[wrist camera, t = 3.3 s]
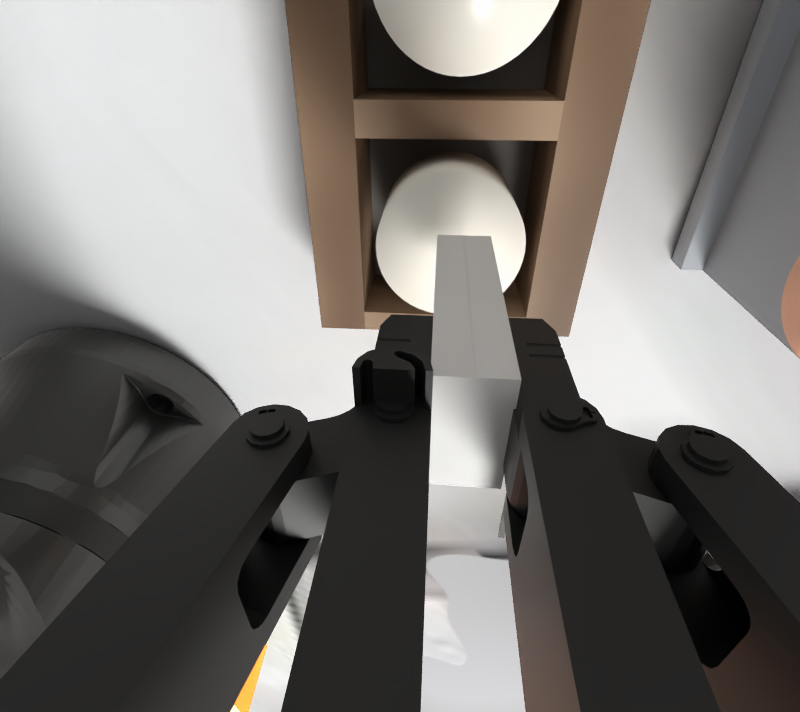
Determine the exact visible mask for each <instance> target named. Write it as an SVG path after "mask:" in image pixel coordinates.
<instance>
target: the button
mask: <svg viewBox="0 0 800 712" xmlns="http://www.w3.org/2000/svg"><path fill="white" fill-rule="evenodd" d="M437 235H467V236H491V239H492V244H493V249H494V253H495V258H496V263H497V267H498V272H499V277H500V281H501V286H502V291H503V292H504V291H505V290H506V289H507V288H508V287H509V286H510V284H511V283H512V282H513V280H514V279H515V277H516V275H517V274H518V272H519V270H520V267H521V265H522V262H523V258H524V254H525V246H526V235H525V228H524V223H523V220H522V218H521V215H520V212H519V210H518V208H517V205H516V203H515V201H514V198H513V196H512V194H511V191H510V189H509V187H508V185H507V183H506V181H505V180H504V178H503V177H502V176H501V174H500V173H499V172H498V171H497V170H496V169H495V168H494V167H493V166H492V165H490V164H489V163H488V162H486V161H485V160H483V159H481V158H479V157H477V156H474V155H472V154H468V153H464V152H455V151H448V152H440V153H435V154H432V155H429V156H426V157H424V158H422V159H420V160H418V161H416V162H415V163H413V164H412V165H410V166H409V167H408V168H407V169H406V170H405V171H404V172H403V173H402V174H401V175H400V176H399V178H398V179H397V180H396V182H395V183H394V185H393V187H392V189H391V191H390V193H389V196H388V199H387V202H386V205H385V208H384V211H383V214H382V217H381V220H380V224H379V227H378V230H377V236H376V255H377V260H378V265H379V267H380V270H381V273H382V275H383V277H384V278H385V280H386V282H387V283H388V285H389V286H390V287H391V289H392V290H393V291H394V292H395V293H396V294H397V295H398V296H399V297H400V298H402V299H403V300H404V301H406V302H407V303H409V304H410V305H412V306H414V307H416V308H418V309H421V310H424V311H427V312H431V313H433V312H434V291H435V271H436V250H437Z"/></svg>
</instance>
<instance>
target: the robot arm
mask: <svg viewBox="0 0 800 712" xmlns="http://www.w3.org/2000/svg"><path fill="white" fill-rule="evenodd" d="M352 373H353V386H354V400H355V407H354V408H352V409H351V410H349V411H347V412H345V413H343V414H341V415H338V416H335V417H331V418H327V419H321V420H316V421H310V422H308V420H307V418H306V417H305V416H304V415H303V413H302V412H301V411H300V410H297V409H295V408H293V407H290V406H286V405H268V406H262V407H258V408H256V409H253V410H251V411H249V412H246V413H244V414H243V415H242V416H239V414H238V412H237V411H236V409H235V408H234V406H233V405H232V404H231V402H230V401H229V400H228V398H227V397H226V396H225V395H224V394H223V393H222V392H221V390H220V389H219V388H218V387H217V386H216V385H215V384H213V383H212V382H211V381H210V380H209V379H208V378H207V377H206V376H204V375H203V374H202V373H201V372H199V371H198V370H197V369H195V368H194V367H193V366H191V365H190V364H188V363H187V362H185V361H184V360H182V359H180V358H179V357H177V356H175V355H173V354H172V353H170V352H168V351H166V350H164V349H162V348H160V347H158V346H155V345H153V344H151V343H148V342H146V341H143V340H140V339H138V338H135V337H131V336H128V335H125V334H121V333H117V332H112V331H107V330H100V329H92V328H64V329H57V330H52V331H48V332H44V333H41V334H38V335H36V336H34V337H32V338H30V339H28V340H26V341H25V342H23V343H22V344H21V345H19V346H18V347H17V348H15V349H14V350H13V351H11V352H10V353H9V354H7V355H6V356H5V357H3V358H2V359H1V360H0V712H230V711H231V710H232V708H233V706H234V704H235V702H236V700H237V698H238V696H239V694H240V692H241V690H242V689H243V687H244V685H245V683H246V681H247V679H248V677H249V675H250V673H251V671H252V670H253V668H254V666H255V664H256V662H257V660H258V658H259V656H260V654H261V652H262V651H263V649H264V647H265V645H266V643H267V641H268V639H269V637H270V635H271V633H272V631H273V630H274V628H275V626H276V624H277V622H278V620H279V618H280V616H281V614H282V612H283V611H284V609H285V607H286V605H287V603H288V601H289V599H290V597H291V595H292V593H293V591H294V590H295V588H296V586H297V584H298V582H299V580H300V578H301V576H302V574H303V572H304V571H305V569H306V567H307V565H308V563H309V561H310V559H311V557H312V555H313V553H314V552H315V550H316V548H317V546H318V544H319V542H320V540H321V537H322V535H324V536H323V540H322V544H321V548H320V552H319V557H318V561H317V565H316V569H315V573H314V577H313V581H312V586H311V590H310V594H309V598H308V602H307V606H306V610H305V615H304V619H303V623H302V627H301V631H300V635H299V639H298V643H297V648H296V652H295V656H294V660H293V664H292V668H291V672H290V677H289V681H288V685H287V689H286V693H285V697H284V701H283V706H282V710H281V712H420V709H421V682H422V656H423V629H424V601H425V574H426V547H427V520H428V493H429V484H437V485H452V486H467V487H483V488H498V489H501V486H502V481H503V476H505V483H506V491H507V492H506V497H505V503H504V508H503V513H502V518H501V523H500V528H499V536H498V537H503V538H504V536H505V533H506V542H507V550H508V559H509V568H510V577H511V585H512V595H513V603H514V612H515V621H516V630H517V639H518V647H519V656H520V665H521V674H522V683H523V692H524V701H525V709H526V712H800V503H799V502H798V501H797V500H796V499H795V498H794V497H793V496H792V495H791V494H790V493H789V492H787V491H786V490H785V489H784V488H783V487H782V486H781V485H780V484H779V483H778V482H777V481H776V480H775V479H774V478H773V477H772V476H771V475H770V474H769V473H768V472H767V471H766V470H765V469H764V468H763V467H762V466H761V465H760V464H759V463H758V462H756V461H755V460H754V459H753V458H752V457H751V456H750V455H749V454H748V453H747V452H746V451H745V450H744V449H743V448H741V447H740V446H739V445H737V444H736V443H735V442H733V441H732V440H731V439H729V438H727V437H725V436H723V435H721V434H719V433H717V432H715V431H713V430H709V429H706V428H702V427H698V426H694V425H676V426H673V427H670V428H667V429H665V430H664V431H663V432H662V433H661V434H660V436H659V437H658V439H657V441H652V440H648V439H645V438H641V437H637V436H634V435H630V434H627V433H624V432H621V431H618V430H615V429H612V428H611V427H609V426H607V425H606V424H605V421H604V419H603V417H602V416H601V414H600V413H599V411H598V410H597V409H596V408H595V407H594V406H592V405H591V404H590V403H588V402H587V401H586V400H584V399H581V398H580V396H579V394H578V391H577V388H576V385H575V383H574V380H573V377H572V374H571V372H570V369H569V366H568V363H567V361H566V359H565V355H564V352H563V350H562V347H561V344H560V341H559V339H558V336H557V333H556V331H555V330H554V329H553V328H552V327H551V326H550V325H549V324H548V323H546V322H545V321H544V320H543V319H534V318H509V317H508V314H507V310H506V305H505V300H504V296H503V291H502V286H501V281H500V277H499V272H498V267H497V263H496V258H495V253H494V249H493V244H492V239H491V236H467V235H437V250H436V271H435V291H434V312H433V316H422V315H397V314H391V315H390V316H389V317H388V318H387V319H386V320H385V321H384V322H383V323H382V324H381V325H380V329H379V334H378V339H377V343H376V347H375V350H371V351H368V352H366V353H365V354H363V355H362V356H360V357H359V358H358V359H357V360H356V362H355V363H354V365H353V367H352ZM708 552H709V553H710V554H711V556H712V557H713V558H714V559H713V558H712V557H711V556H710V554H709V553H708Z"/></svg>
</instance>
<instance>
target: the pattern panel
mask: <svg viewBox="0 0 800 712" xmlns="http://www.w3.org/2000/svg"><path fill="white" fill-rule="evenodd" d="M672 261H673V262H674V263H675V264H676V265H677V266H678V267H679V268H680V269H681V270H703V271H704V272H705V273H706V274H708V275H709V276H710V277H711V278H712V279H713V280H714V281H715V282H716V283H717V284H718V285H720V286H721V287H722V288H723V289H724V290H725V291H726V292H727V293H728V294H729V295H731V296H732V297H733V298H734V299H735V300H736V301H737V302H738V303H739V304H740V305H741V306H743V307H744V308H745V309H746V310H747V311H748V312H749V313H750V314H751V315H752V316H754V317H755V318H756V319H757V320H758V321H759V322H760V323H761V324H762V325H763V326H764V327H766V328H767V329H768V330H769V331H770V332H771V333H772V334H773V335H774V336H775V337H777V338H778V339H779V340H780V341H781V342H782V343H783V344H784V345H785V346H786V347H787V348H789V349H790V350H791V351H792V352H793V353H794V354H795V355H796V356H797V357H798V358H800V0H763V3H762V6H761V9H760V12H759V15H758V17H757V20H756V23H755V26H754V29H753V31H752V34H751V37H750V40H749V43H748V46H747V48H746V51H745V54H744V57H743V60H742V62H741V65H740V68H739V71H738V74H737V77H736V79H735V82H734V85H733V88H732V91H731V93H730V96H729V99H728V102H727V105H726V108H725V110H724V113H723V116H722V119H721V122H720V124H719V127H718V130H717V133H716V136H715V139H714V141H713V144H712V147H711V150H710V153H709V155H708V158H707V161H706V164H705V167H704V170H703V172H702V175H701V178H700V181H699V184H698V186H697V189H696V192H695V195H694V198H693V201H692V203H691V206H690V209H689V212H688V215H687V217H686V220H685V223H684V226H683V229H682V232H681V234H680V237H679V240H678V243H677V246H676V248H675V251H674V254H673V257H672Z"/></svg>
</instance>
